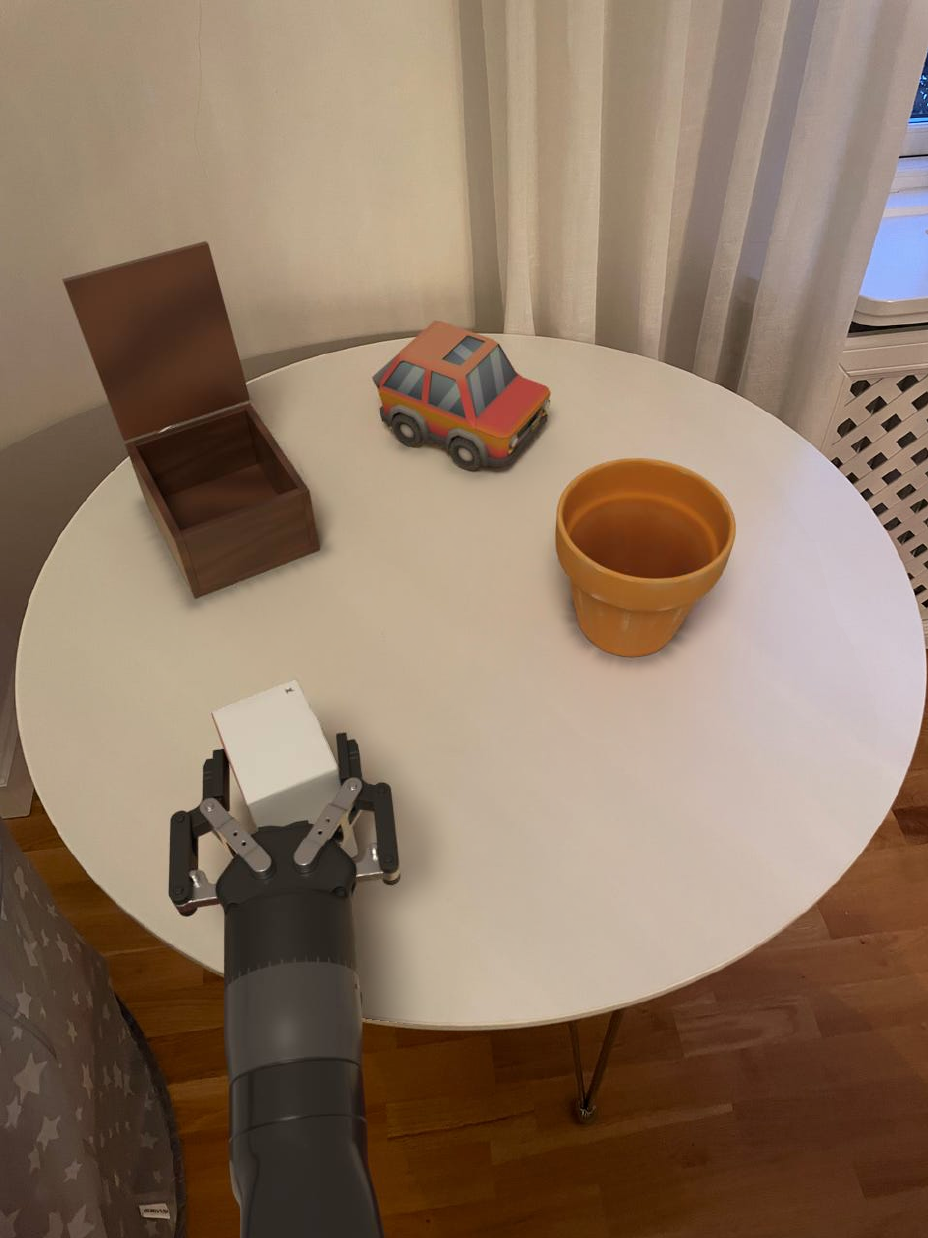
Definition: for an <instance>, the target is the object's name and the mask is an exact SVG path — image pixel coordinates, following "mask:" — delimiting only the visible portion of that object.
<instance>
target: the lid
mask: <svg viewBox="0 0 928 1238" xmlns="http://www.w3.org/2000/svg"><path fill="white" fill-rule="evenodd" d="M211 251H212V250H211V248H210V244H209V243H208V241H207V240H204V241H201V242H197V243H193V244H189V245H185V246H181V247H178V248H174V249H171V250H167V251H163V252H159V253H155V254H152V255H148V256H143V257H140V258H137V259H133V260H128V261H125V262H121V263H118V264H115V265H111V266H107V267H102V268H99V269H96V270H92V271H87V272H85V273H81V274H76V275H73V276H69V277H66V278H63V279H61V280H62V283H63V285H64V288H65V291H66V294H67V296H68V299H69V302H70V304H71V307H72V309H73V313H74V315H75V318H76V320H77V322H78V325H79V328H80V331H81V333H82V336H83V338H84V339H83V340H84V341H85V343H86V347H87V349H88V351H89V354H90V357H91V360H92V362H93V365H94V368H95V370H96V372H97V375H98V378H99V380H100V383H101V385H102V388H103V391H104V394H105V396H106V399H107V402H108V404H109V407H110V409H111V412H112V414H113V415H112V416H113V417H114V420H115V423H116V425H117V428H118V430H119V433H120V436H121V438H122V441H124V442H126V441H129V440H132V439H136V438H139V437H142V436H145V435H147V434H150V433H154V432H158V431H160V430H163V429H166V428H169V427H172V426H176V425H179V424H181V423H184V422H185V423H186V422H187V421H190V420H194V419H197V418H200V417H203V416H206V415H208V414H212V413H215V412H218V411H222V410H224V409H227V408H230V407H233V406H237V405H240V404H242V403H245V402H248V401H250V400H251V396H250V392H249V388H248V386H247V382H246V378H245V374H244V370H243V367H242V364H241V359H240V355H239V351H238V348H237V345H236V341H235V337H234V334H233V330H232V325H231V321H230V319H229V315H228V312H227V307H226V303H225V300H224V296H223V292H222V289H221V285H220V282H219V281H220V280H219V278H218V273H217V270H216V267H215V263H214V262H215V261H214V258H213V255H212V252H211Z"/></svg>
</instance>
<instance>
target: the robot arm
mask: <svg viewBox="0 0 928 1238" xmlns="http://www.w3.org/2000/svg"><path fill="white" fill-rule="evenodd" d="M335 740H336V750H337V762H338V763H337V765H338V769H339V775H340V782H341V789H340V790H339V792H338V793H337V795H336V797H335V798H334V800H333V801H332V802H331V803H329V804H327V806H326V807H325V809H324V810H323V812H322V813H321V815H320V817H319V818H318V820H317V821H316V823H315V824H311V823H309V822H308V820H304V821H297V822H294V823H291V824H289V825H286V826H283V827H282V826H271V825H270V826H263V827H258V831H257V830H256V831H254V832H253V833H251V834H249V832H248V831H247V830H246V829H245V828H244V826H243V825H241V823H240V822H239V821H238V820H237V819H236V818H235V817H233V816H232V815H231V814H230V813H229V812H231V794H230V793H231V766H230V764H229V761H228V758H227V756H226V753H225V751H224V748H218V749H213V750H212V758H206V759H205V761H204V763H203V766H202V798H201V801H200V803H199V805H197V806H196V807H194V808H193V809H191V810H189V811H186V810H178V811H175V812H174V813H173V814H172V815H171V817H170V821H169V857H168V858H169V859H168V860H169V862H168V863H169V864H168V892H167V893H168V896H169V899H170V900H171V902H172V904H173V906H174V907H175V909H176V910H177V912H178V913H179V915H180V916H182V917H185V918H187V917H190V916H193V915H195V914H196V913H197V911H198V909H199V908H204V907H210V906H211V907H212V906H216V905H220V906H221V908H222V910H223V1042H224V1043H223V1045H224V1054H225V1060H226V1068H227V1078H228V1161H229V1162H228V1163H229V1164H228V1165H229V1175H230V1183H231V1189H232V1193H233V1195H234V1198H235V1200H236V1202H237V1204H238V1206H239V1212H240V1213H239V1215H240V1216H239V1217H240V1218H239V1219H240V1221H239V1225H240V1227H239V1228H240V1230H239V1238H386V1234H385V1229H384V1225H383V1221H382V1220H383V1219H382V1215H381V1211H380V1205H379V1201H378V1197H377V1194H376V1189H375V1186H374V1183H373V1179H372V1175H371V1170H370V1165H369V1153H368V1151H369V1150H368V1149H369V1148H368V1145H369V1144H368V1124H367V1111H366V1100H365V1088H364V1076H363V1075H364V1074H363V1070H362V1069H363V1062H362V1054H363V1053H362V1052H363V1051H362V1049H363V1013H362V1006H363V994H362V993H363V992H362V990H361V986H360V979H359V977H360V976H359V966H358V954H357V943H356V933H355V932H356V931H355V921H354V911H353V910H354V909H353V896H354V892H355V890H356V888H357V885H358V884H360V883H367V882H374V881H382V883H383V884H384V885H386V886H389V887H390V886H391V887H392V886H396V885H397V884H398V883H399V882H400V880H401V877H402V873H401V865H400V855H399V848H398V838H397V837H398V836H397V829H396V821H395V820H396V819H395V810H394V802H393V795H392V788H391V786H390V784H388V783H387V782H382V781H381V782H377V783H376V784H372V783H369V782H366V781H365V780H364V778H363V771H362V759H361V753H360V747H359V743H358V742H357V741H356V738H352V739H351V738H350V739H348V734H347V732H346V731H345V732H338V733H337V732H336V733H335ZM363 811H367V812H372V813H373V817H374V825H375V827H374V828H375V835H376V836H375V837H376V842H372V843H370V844H368V845H367V846H366V848H365V850H364V856H363V858H362V859H361V860H359V861H357V862H355V860H354V859H353V857H350V856H349V855H348V854H347V853H346V852H345V851H344V850H343V849H342V848H343V846H344V845H345V843H346V841H347V840H348V838H349V836H350V833H351V829H353V827H354V825H355V823H356V822H357V820H358V819H359V817H360V815H361V813H362V812H363ZM208 833H211V834H212V835H213V836H214V838H216V839H217V840H218V842H219V843H220V844H221V845H222V846H223V848H224V850H225V851H226V852H227V854H228V855H229V856H230V857H231V860H230V861H229V863H228V864H227V866H226V867H225V869H224V870H223V871H222V873H221V874H220V875H219V877H218V879H217V880H216V883H211V882H209V879H208V877H207V875H206V873H205V871H203V870H202V869H199V838H200V837H202V836H204V835H206V834H208Z"/></svg>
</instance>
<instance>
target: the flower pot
mask: <svg viewBox="0 0 928 1238" xmlns="http://www.w3.org/2000/svg"><path fill="white" fill-rule="evenodd" d="M554 532H555V533H554V535H555V538H554V541H555V552H556V556H557V559H558V560H557V561H558V562H559V565H560V567H561V568H562V570H563V571H564V573H565V575H566V576H567V577H568V578H569V583H570V584H569V585H570V588H571V594H572V600H573V604H574V608H575V614H576V619H577V622H578V626H579V628H580V630H581V632H582V633H583V635H584V636H585V637H586V638H587V639H588V640H589V641H590V642H591V643H592V644H593V645H595V646H596V648H599V649H601V650H602V651H604V652H606V653H610V654H612V655H616V656H619V657H628V658H630V657H631V658H632V657H633V658H634V657H635V658H636V657H643V656H648V655H651V654H653V653H656V652H657V651H659V650H661V649H663V648H664V647H665V646H666V645H667V644H668V643H670V641H671V640H672V638H673V637H674V636H675V634H676V633H677V631H678V630H679V628H680V627H681V626H682V624H683V622H684V621H685V619H686V617H687V616H688V614H689V612H690V611H691V610H692V609H693V606H694V605H695V604H696V602H697V601H698V600H700V599H701V598H703V597H704V596H705V595H707V594H708V593H709V592H710V591H711V590H712V589H713V588H715V586H716V585H717V583H719V581H720V579H721V577H722V576H723V573H724V572H725V569H726V566H727V564H728V561H729V558H730V555H731V552H732V550H733V546H734V542H735V539H736V534H737V533H736V532H737V524H736V518H735V515H734V512H733V509H732V507H731V505H730V503H729V502H728V500H727V498H726V497H725V495H724V494H723V493H722V492H721V491H720V490H719V489H718V488H717V486H715V485H714V484H713V483H712V482H711V481H709V480H708V479H706V478H705V477H704V476H703V475H700V474H699V473H697V472H695V471H693V470H691V469H690V468H687V467H684V466H681V465H679V464H676V463H672V462H670V461H665V460H660V459H653V458H642V457H634V458H633V457H631V458H619V459H615V460H614V459H613V460H609V461H606V462H601V463H599V464H597V465H594V466H592V467H589V468H588V469H586V470H584V471H582V472H581V473H580V474H578V475H577V476H576V477H574V478H573V479H572V480H571V481H569V484H567V485H566V486H565V488H564V489H563V491H562V493H561V495H560V497H559V500H558V502H557V506H556V517H555V531H554Z"/></svg>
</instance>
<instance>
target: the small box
mask: <svg viewBox="0 0 928 1238" xmlns="http://www.w3.org/2000/svg"><path fill="white" fill-rule="evenodd" d="M210 715H211V719H212V721H213V723H214V726H215V729H216V731H217V735H218V737H219V740H220V742H221V745H222V749H224V751H225V753H226V756H227V758H228V761H229V765H230V770H231V771H232V774H233V777H234V779H235V781H236V783H237V786H238V789H239V791H240V794H241V796H242V799H243V801H244V803H245V806H246V808H247V810H248V813H249V815H250V817H251V820H252V822H253V826H254V827H255V830H256V832H257V831H258V827H263V826H270V825H271V826H282V827H283V826H286V825H289V824H291V823H294V822H297V821H304V820H308V822H309V823H311V824H315V823H316V821H317V820H318V818H319V817H320V815H321V813H322V812H323V810H324V809H325V807H326V806H327V804H329V803H331V802H332V801H333V800H334V798H335V797H336V795H337V793H338V792H339V790H340V789H341V782H340V775H339V764H338V763H337V761H336V758H335V756H334V754H333V752H332V749H331V747H330V744H329V742H328V740H327V738H326V735H325V733H324V731H323V729H322V726H321V724H320V722H319V720H318V717H317V715H316V713H315V711H314V709H313V707H312V706H311V704H310V702H309V700H308V698H307V696H306V694H305V692H304V689H303V687H302V686H301V684H300V681H299V680H298V679H297V678H294V679H292V680H289V681H287V682H284V683H281V684H277V685H276V686H272V687H271V688H268V689H265V690H263V691H259V692H258V693H255V694H252V695H250V696H248V697H245V698H243V699H239V700H237V701H235V702H232V703H230V704H227V705H225V706H222V707H220V708H217V709H215V710H212V711H211V713H210ZM342 849H343V850H344V851H345V852H346V853H347V854H348V855H349V856H350V857H351V858H354V857H356V856H357V855H359V850H358V846H357V842H356V837H355V833H354V830H353V828H352V829H351V833H350V836H349V838H348V840H347V841H346V843H345V845H344V846H343V848H342Z"/></svg>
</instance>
